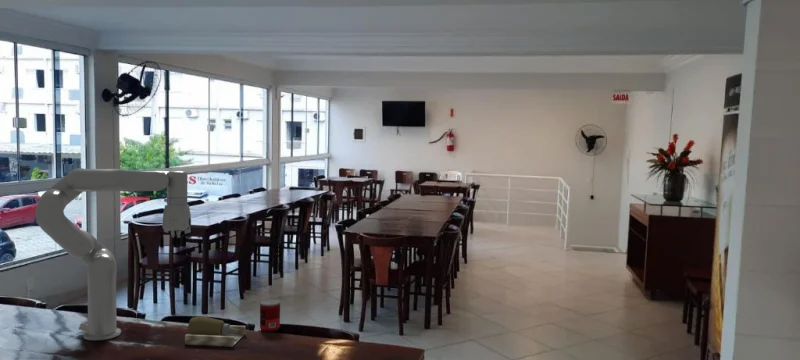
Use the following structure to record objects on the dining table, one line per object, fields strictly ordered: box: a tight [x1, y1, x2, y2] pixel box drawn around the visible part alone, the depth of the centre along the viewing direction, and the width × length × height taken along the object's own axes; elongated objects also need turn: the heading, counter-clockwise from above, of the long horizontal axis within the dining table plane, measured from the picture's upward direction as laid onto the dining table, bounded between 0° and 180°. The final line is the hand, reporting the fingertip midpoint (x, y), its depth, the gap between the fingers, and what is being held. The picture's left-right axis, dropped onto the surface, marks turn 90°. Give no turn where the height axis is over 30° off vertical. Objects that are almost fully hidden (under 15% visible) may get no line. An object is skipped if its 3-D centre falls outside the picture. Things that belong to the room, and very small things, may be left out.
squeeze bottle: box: [187, 315, 238, 336], centre depth 207 cm, size 8×8×18 cm
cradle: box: [184, 324, 247, 348], centre depth 206 cm, size 18×13×4 cm
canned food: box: [259, 298, 281, 333], centre depth 220 cm, size 8×8×11 cm
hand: (177, 247), depth 220 cm, fingers closed
